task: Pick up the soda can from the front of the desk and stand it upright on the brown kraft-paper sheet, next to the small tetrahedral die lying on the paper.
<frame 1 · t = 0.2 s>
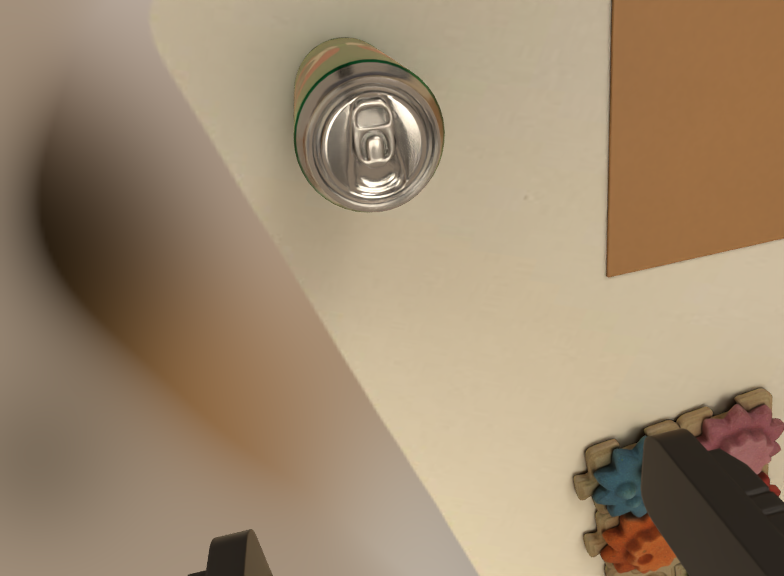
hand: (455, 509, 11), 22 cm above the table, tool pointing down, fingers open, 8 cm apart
soda can: (345, 91, 29), on the table
gear puzzle: (675, 539, 50), on the table
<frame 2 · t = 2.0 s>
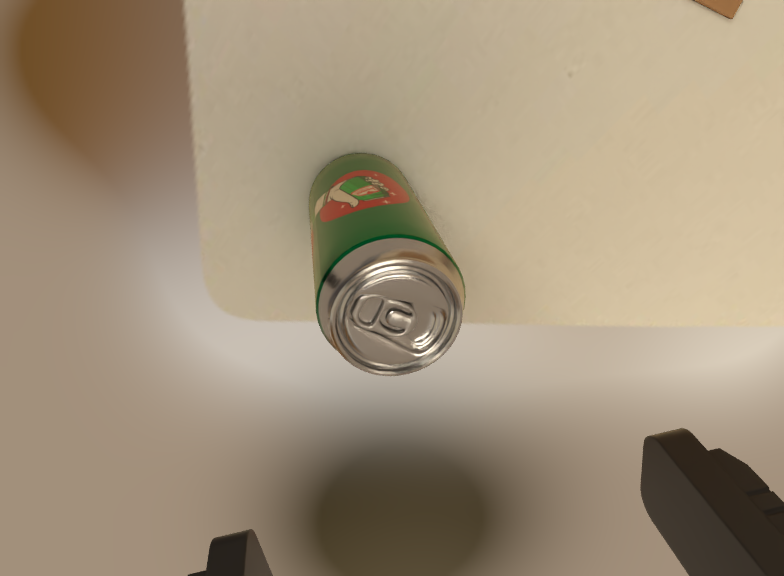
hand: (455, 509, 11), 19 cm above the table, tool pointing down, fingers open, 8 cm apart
soda can: (358, 198, 29), on the table
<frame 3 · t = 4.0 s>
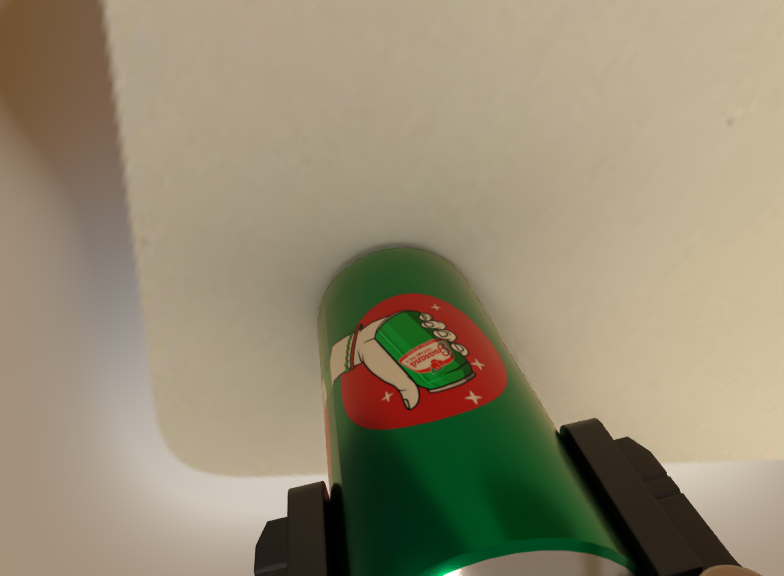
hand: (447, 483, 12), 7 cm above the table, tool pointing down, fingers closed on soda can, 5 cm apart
soda can: (393, 308, 19), on the table, touching gripper
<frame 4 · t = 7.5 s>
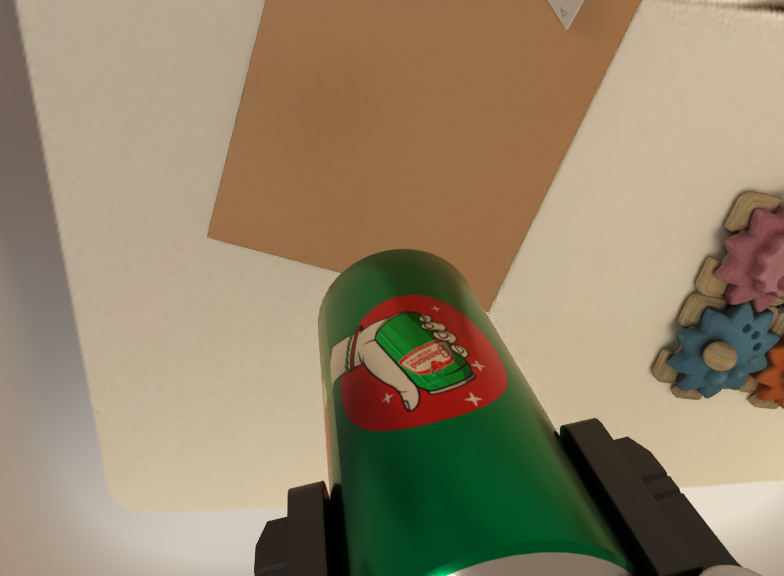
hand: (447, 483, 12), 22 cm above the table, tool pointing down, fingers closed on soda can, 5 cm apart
kraft paper: (424, 98, 30), on the table
soda can: (394, 309, 19), point 15 cm above the table, touching gripper
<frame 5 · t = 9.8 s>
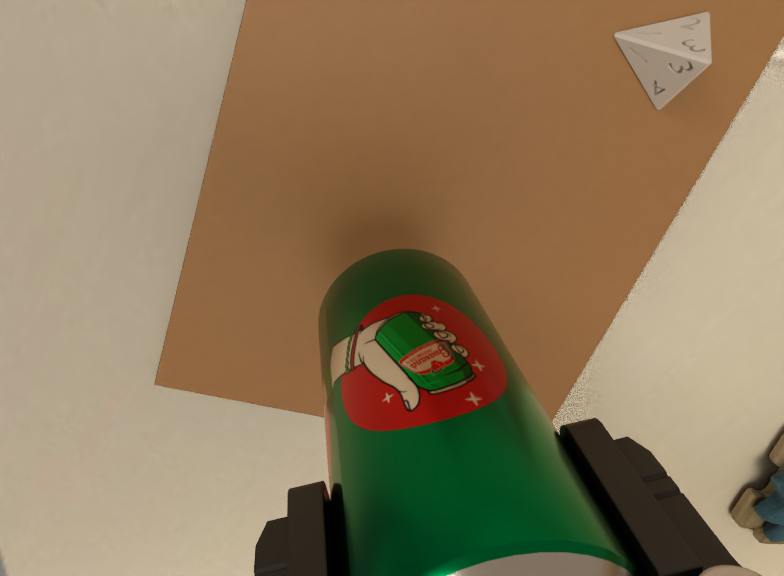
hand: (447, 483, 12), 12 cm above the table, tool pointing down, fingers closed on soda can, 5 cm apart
kraft paper: (455, 202, 22), on the table
soda can: (394, 309, 19), point 4 cm above the table, touching gripper
tetrahedral die: (655, 66, 20), resting on kraft paper
when the fingers open (8 cm above the table, at t = 11.3 s): soda can stays where it is, resting on kraft paper.
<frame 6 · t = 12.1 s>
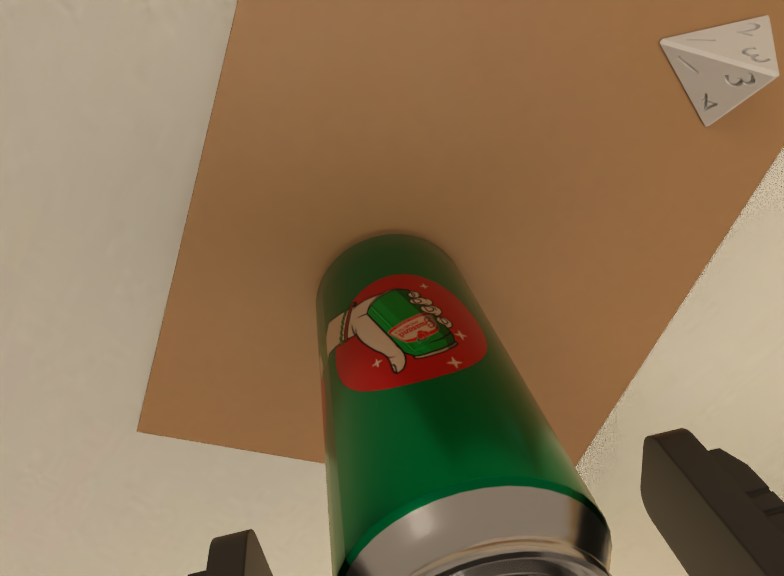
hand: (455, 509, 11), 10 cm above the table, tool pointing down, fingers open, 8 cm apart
kraft paper: (475, 230, 19), on the table
soda can: (387, 292, 20), resting on kraft paper
tetrahedral die: (704, 77, 18), resting on kraft paper
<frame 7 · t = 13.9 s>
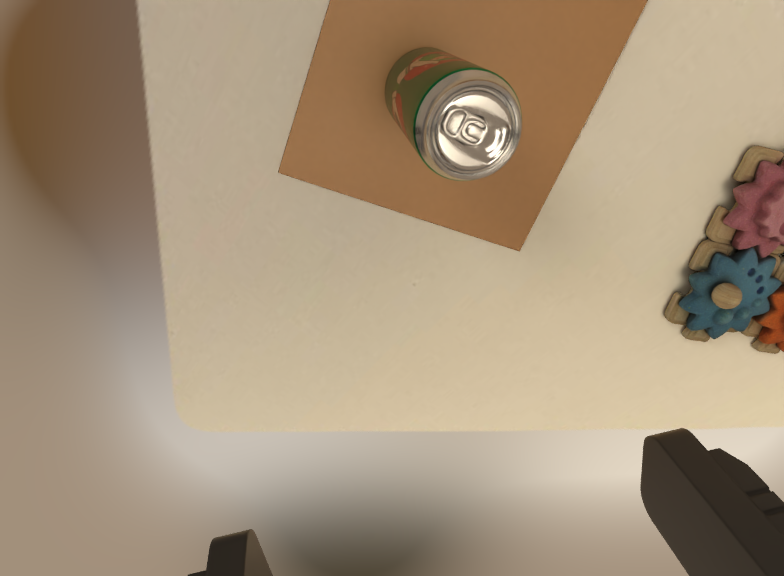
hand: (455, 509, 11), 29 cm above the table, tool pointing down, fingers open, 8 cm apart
kraft paper: (472, 52, 35), on the table
soda can: (423, 89, 35), resting on kraft paper
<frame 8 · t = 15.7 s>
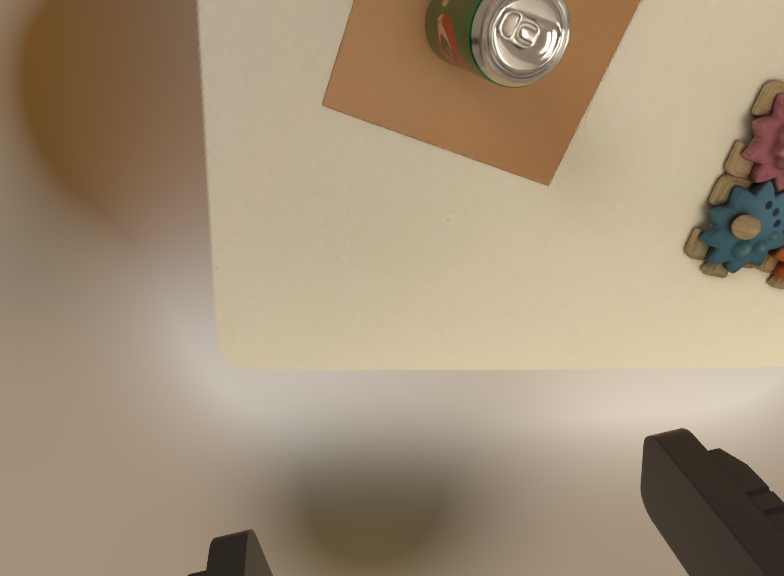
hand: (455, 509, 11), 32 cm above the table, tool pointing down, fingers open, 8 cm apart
soda can: (460, 22, 37), resting on kraft paper
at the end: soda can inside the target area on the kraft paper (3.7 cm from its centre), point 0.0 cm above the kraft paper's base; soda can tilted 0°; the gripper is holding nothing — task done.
